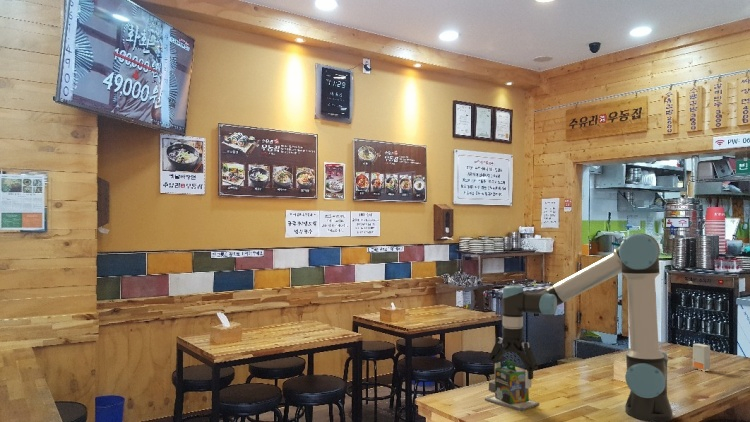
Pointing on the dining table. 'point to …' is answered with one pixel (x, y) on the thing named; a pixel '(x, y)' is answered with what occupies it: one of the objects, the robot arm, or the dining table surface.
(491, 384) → the button housing
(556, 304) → the robot arm
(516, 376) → the chalk box
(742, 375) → the dining table surface
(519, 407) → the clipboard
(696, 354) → the skincare box
